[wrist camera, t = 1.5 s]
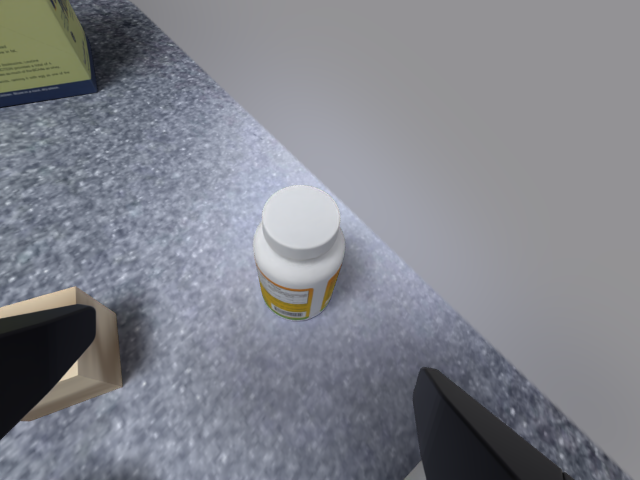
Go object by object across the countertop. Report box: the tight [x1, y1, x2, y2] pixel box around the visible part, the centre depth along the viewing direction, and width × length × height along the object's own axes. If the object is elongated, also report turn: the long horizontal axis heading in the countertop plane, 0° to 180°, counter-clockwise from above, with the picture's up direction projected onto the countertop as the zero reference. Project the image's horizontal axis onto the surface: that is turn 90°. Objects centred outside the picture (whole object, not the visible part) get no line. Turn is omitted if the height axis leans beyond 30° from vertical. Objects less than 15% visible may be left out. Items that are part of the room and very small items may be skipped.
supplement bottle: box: [253, 185, 345, 321], centre depth 20 cm, size 5×5×10 cm
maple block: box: [0, 286, 123, 421], centre depth 18 cm, size 5×5×5 cm
